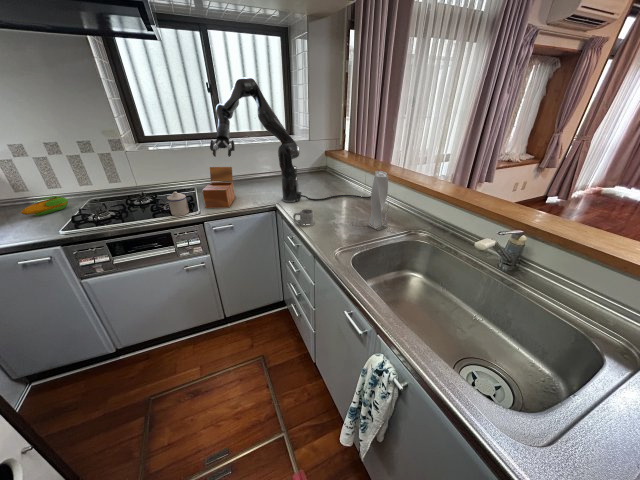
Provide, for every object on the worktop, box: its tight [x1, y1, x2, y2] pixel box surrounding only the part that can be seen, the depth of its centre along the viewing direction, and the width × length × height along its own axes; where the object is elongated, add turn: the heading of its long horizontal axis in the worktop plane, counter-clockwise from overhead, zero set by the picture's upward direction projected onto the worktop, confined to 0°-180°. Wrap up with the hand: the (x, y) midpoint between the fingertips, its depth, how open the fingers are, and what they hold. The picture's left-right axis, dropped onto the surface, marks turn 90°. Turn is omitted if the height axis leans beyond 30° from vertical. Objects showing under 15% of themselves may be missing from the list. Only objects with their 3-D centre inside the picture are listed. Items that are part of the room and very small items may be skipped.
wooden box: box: [201, 181, 236, 209], centre depth 155 cm, size 17×13×10 cm
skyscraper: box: [367, 170, 390, 232], centre depth 125 cm, size 8×8×28 cm
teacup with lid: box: [166, 191, 190, 217], centre depth 141 cm, size 12×9×12 cm
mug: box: [292, 208, 315, 228], centre depth 132 cm, size 10×7×7 cm
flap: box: [209, 166, 234, 182], centre depth 160 cm, size 8×13×1 cm
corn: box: [20, 195, 69, 217], centre depth 140 cm, size 7×8×20 cm
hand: (221, 156), depth 162 cm, fingers open, 8 cm apart
